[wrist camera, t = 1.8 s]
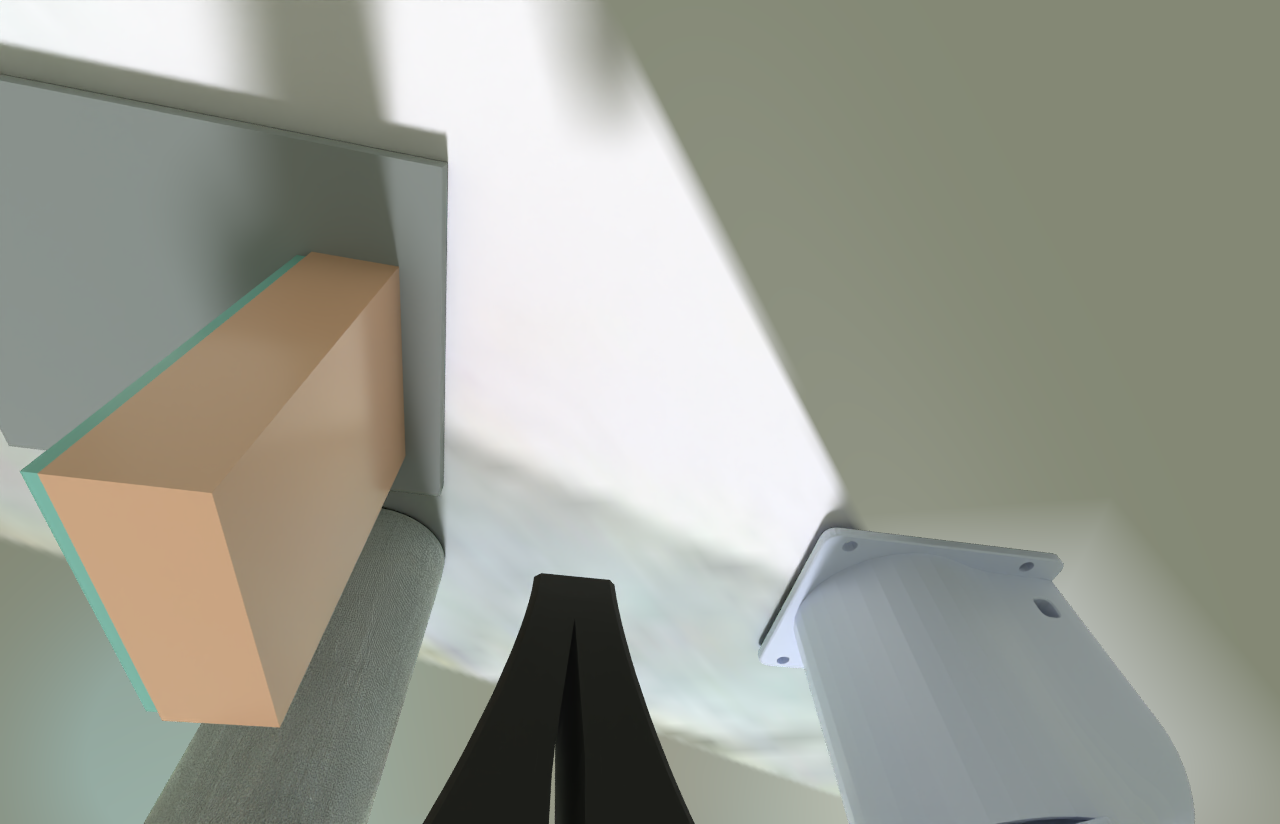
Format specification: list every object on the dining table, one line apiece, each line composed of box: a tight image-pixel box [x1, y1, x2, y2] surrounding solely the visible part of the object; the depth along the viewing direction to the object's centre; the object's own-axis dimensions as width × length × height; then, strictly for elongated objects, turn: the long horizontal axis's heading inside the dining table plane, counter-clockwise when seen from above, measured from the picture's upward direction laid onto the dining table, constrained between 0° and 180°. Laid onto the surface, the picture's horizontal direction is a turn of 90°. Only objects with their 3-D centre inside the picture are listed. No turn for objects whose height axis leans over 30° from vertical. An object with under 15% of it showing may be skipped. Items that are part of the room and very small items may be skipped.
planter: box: [144, 508, 445, 824], centre depth 16 cm, size 4×4×10 cm
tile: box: [20, 252, 406, 728], centre depth 12 cm, size 2×6×8 cm, turn 169°
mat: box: [0, 74, 448, 496], centre depth 15 cm, size 12×10×1 cm
